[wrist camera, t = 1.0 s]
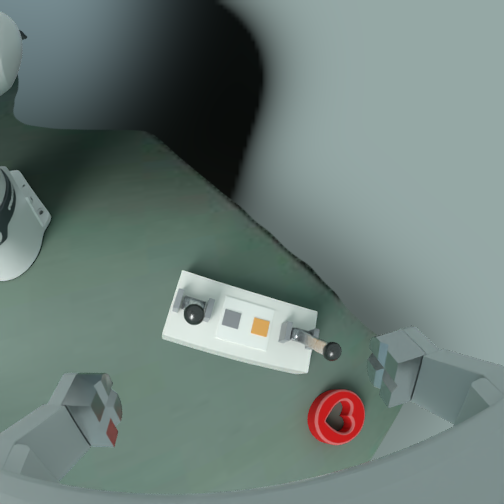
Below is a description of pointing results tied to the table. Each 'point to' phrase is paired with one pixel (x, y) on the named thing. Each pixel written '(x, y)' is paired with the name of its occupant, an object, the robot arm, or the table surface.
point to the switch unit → (241, 325)
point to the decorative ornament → (350, 413)
